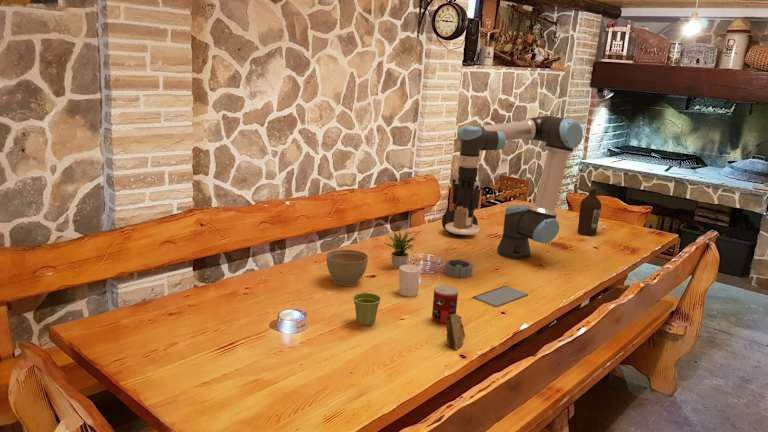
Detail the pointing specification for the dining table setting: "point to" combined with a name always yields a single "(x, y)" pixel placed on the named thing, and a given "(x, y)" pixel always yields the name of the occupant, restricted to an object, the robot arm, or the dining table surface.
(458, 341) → the rock
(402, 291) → the white cup
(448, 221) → the black vase
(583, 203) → the olive oil
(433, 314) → the canned food
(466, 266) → the bowl
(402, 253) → the house plant
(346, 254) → the planter bowl
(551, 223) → the robot arm
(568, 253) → the dining table surface
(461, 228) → the lid
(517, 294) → the mat
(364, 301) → the plant pot
